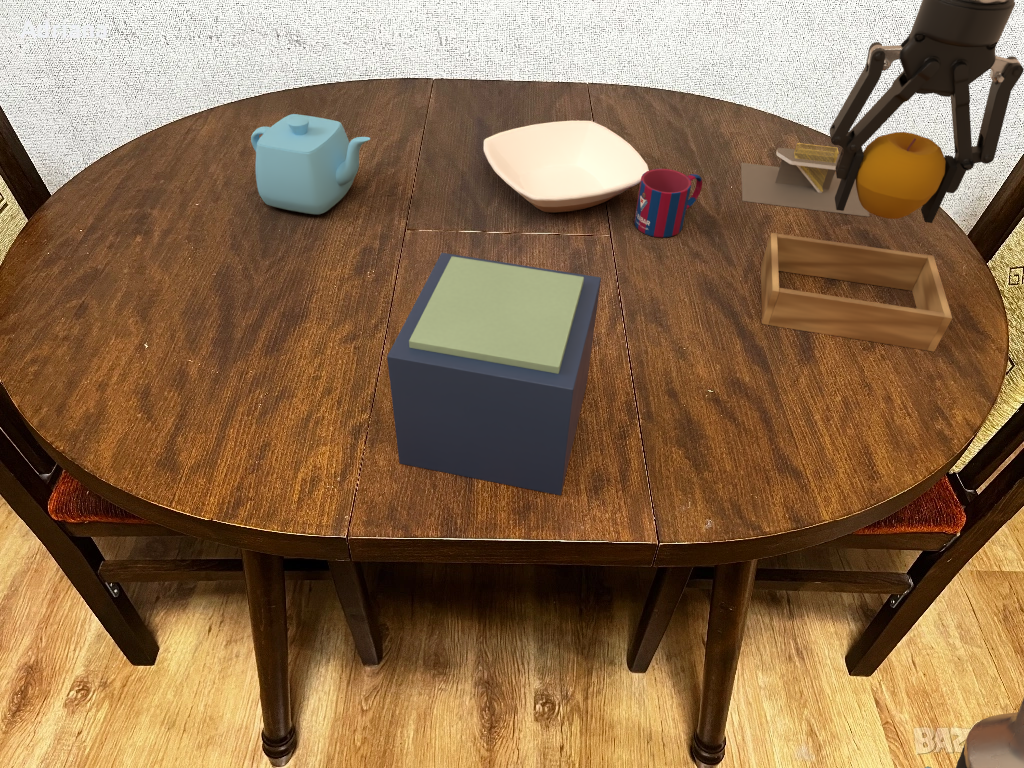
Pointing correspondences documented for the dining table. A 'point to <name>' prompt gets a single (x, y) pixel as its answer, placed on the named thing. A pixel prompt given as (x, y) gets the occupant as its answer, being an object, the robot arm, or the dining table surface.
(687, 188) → the mug
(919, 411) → the dining table surface
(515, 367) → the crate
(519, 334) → the mat
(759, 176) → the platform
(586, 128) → the bowl
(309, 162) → the teapot
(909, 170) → the apple
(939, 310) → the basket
